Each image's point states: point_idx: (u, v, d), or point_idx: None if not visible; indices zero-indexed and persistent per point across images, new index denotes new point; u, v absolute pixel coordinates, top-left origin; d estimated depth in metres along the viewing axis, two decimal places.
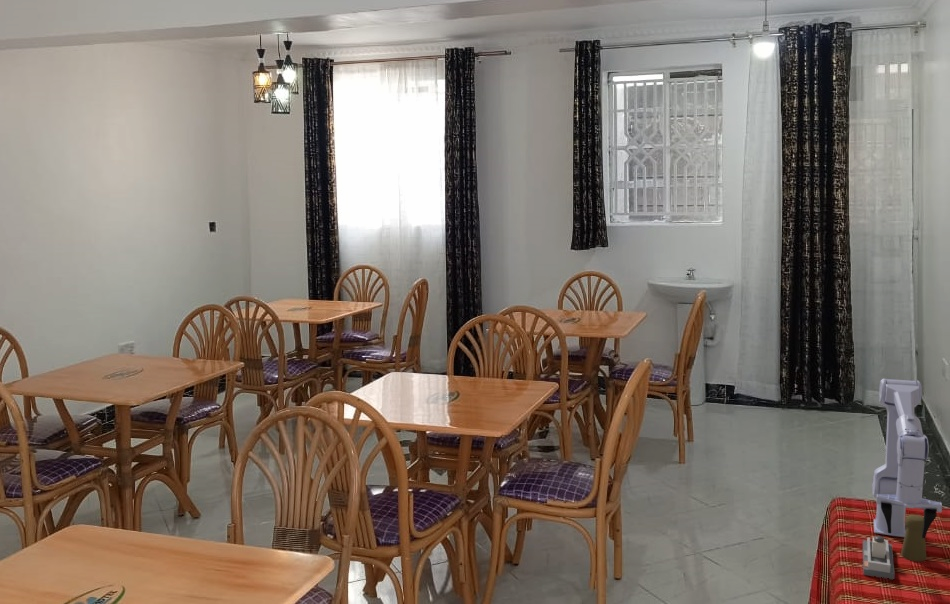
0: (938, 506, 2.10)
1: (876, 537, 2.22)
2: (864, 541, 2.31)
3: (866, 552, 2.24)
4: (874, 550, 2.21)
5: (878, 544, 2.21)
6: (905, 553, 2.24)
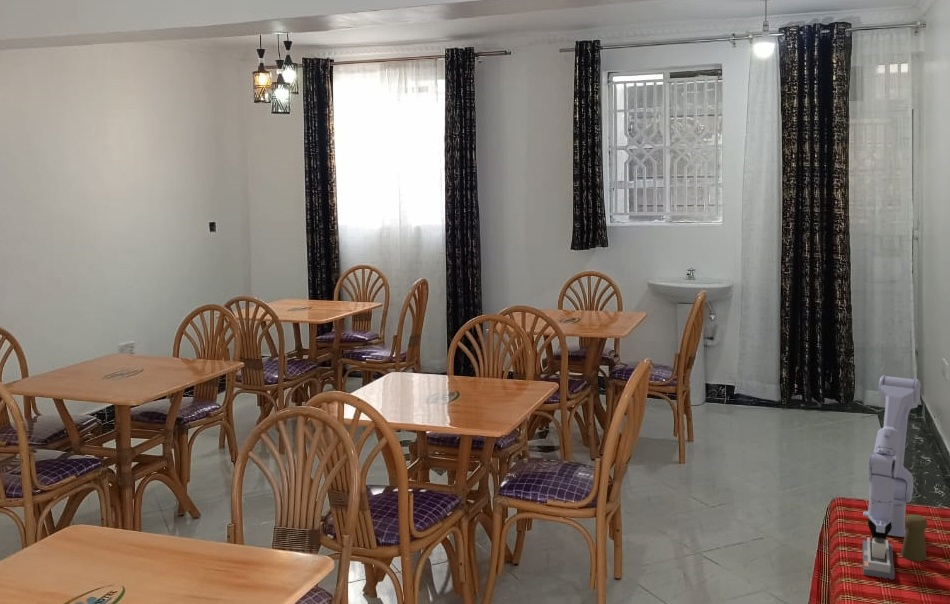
0: (876, 525, 2.18)
1: (876, 538, 2.22)
2: (864, 541, 2.31)
3: (866, 552, 2.24)
4: (874, 551, 2.21)
5: (878, 545, 2.20)
6: (905, 553, 2.24)
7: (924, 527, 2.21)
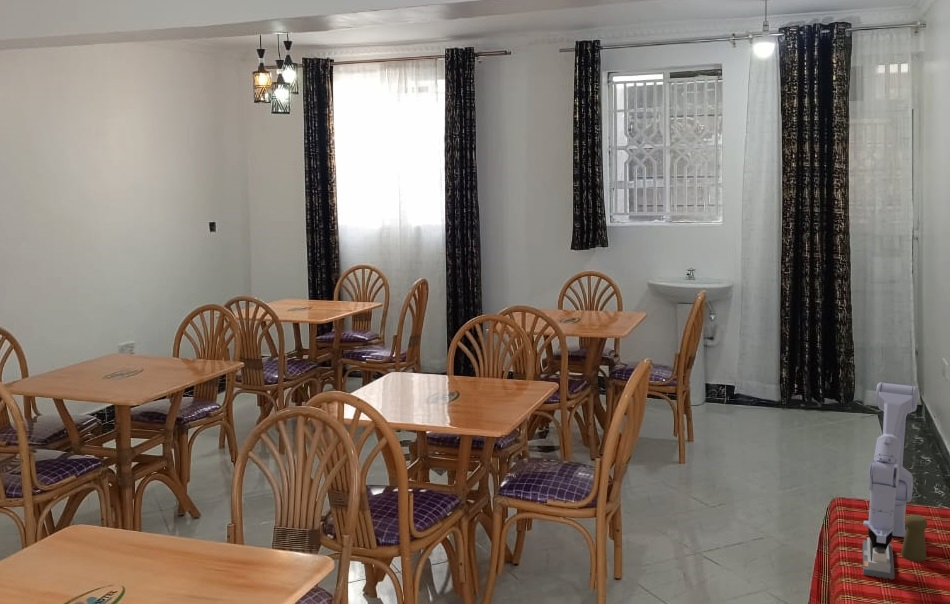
0: (876, 535, 2.12)
1: (877, 548, 2.16)
2: (864, 541, 2.31)
3: (866, 552, 2.24)
4: None
5: (879, 555, 2.15)
6: (905, 553, 2.24)
7: (924, 527, 2.21)
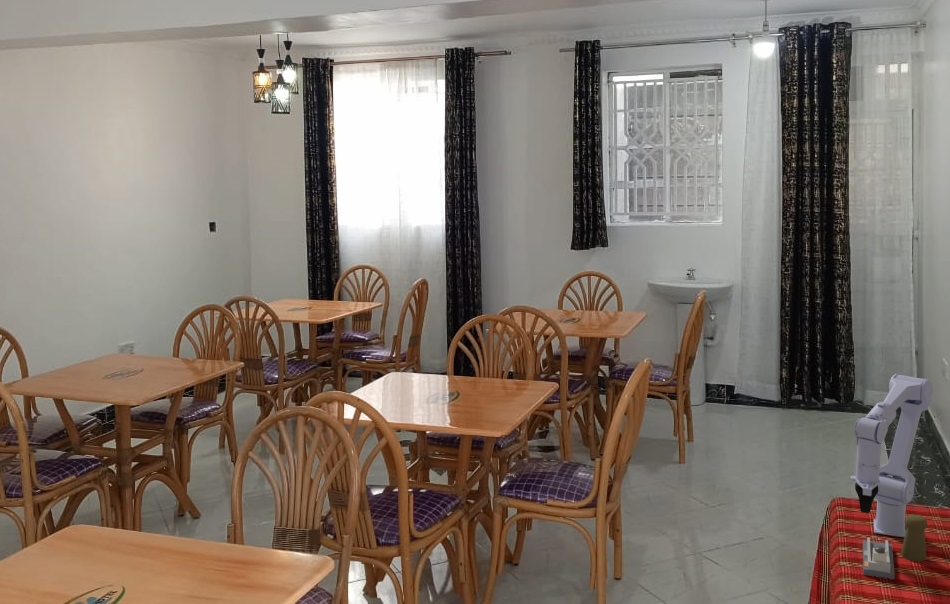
0: (862, 488, 2.21)
1: (877, 547, 2.16)
2: (864, 541, 2.31)
3: (866, 552, 2.24)
4: None
5: (879, 555, 2.15)
6: (905, 553, 2.24)
7: (924, 527, 2.21)
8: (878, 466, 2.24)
